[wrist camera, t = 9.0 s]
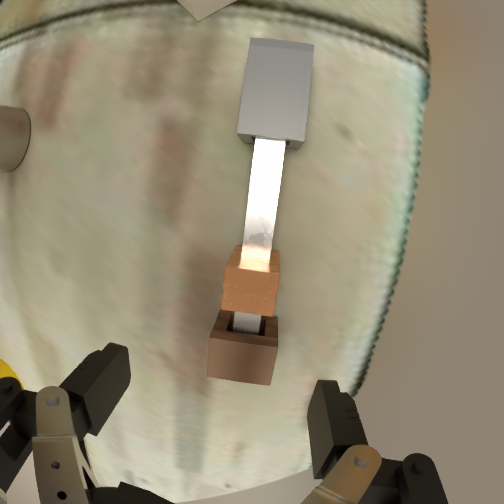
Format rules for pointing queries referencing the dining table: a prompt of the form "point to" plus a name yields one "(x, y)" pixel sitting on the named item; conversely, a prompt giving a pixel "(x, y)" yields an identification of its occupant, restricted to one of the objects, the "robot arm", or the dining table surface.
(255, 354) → the socket block
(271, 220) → the bar with orange block
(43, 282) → the dining table surface
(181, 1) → the milk
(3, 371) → the yellow toilet roll
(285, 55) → the outer sleeve
